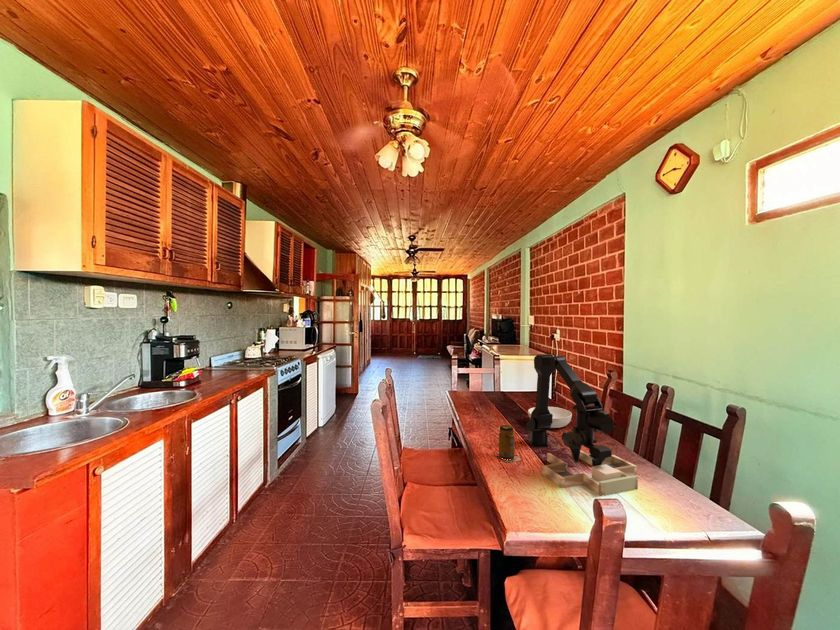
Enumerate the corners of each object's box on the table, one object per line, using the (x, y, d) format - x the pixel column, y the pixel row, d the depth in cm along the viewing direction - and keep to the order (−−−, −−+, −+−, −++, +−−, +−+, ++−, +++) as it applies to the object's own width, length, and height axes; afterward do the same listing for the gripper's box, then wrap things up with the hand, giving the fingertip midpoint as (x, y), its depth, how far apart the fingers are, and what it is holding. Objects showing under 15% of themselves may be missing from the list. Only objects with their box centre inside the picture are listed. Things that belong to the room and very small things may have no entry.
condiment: (509, 452, 147) (509, 423, 147) (521, 460, 139) (521, 429, 139) (493, 454, 145) (493, 425, 145) (505, 463, 137) (505, 431, 137)
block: (591, 481, 122) (591, 466, 122) (605, 478, 124) (605, 464, 124) (605, 489, 116) (605, 474, 116) (620, 486, 118) (620, 471, 118)
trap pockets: (542, 474, 127) (542, 465, 127) (613, 462, 137) (613, 454, 136) (561, 488, 117) (561, 478, 117) (637, 474, 127) (637, 465, 127)
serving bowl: (523, 419, 192) (523, 406, 192) (563, 419, 191) (562, 406, 191) (534, 432, 171) (534, 417, 171) (579, 432, 170) (579, 417, 170)
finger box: (547, 461, 138) (547, 450, 138) (578, 456, 142) (578, 446, 142) (601, 495, 112) (601, 483, 112) (637, 488, 116) (637, 476, 116)
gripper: (549, 419, 135) (549, 460, 136) (585, 435, 117) (585, 482, 118) (574, 416, 139) (574, 456, 139) (612, 432, 121) (612, 478, 121)
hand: (585, 467), depth 129 cm, fingers open, 9 cm apart
